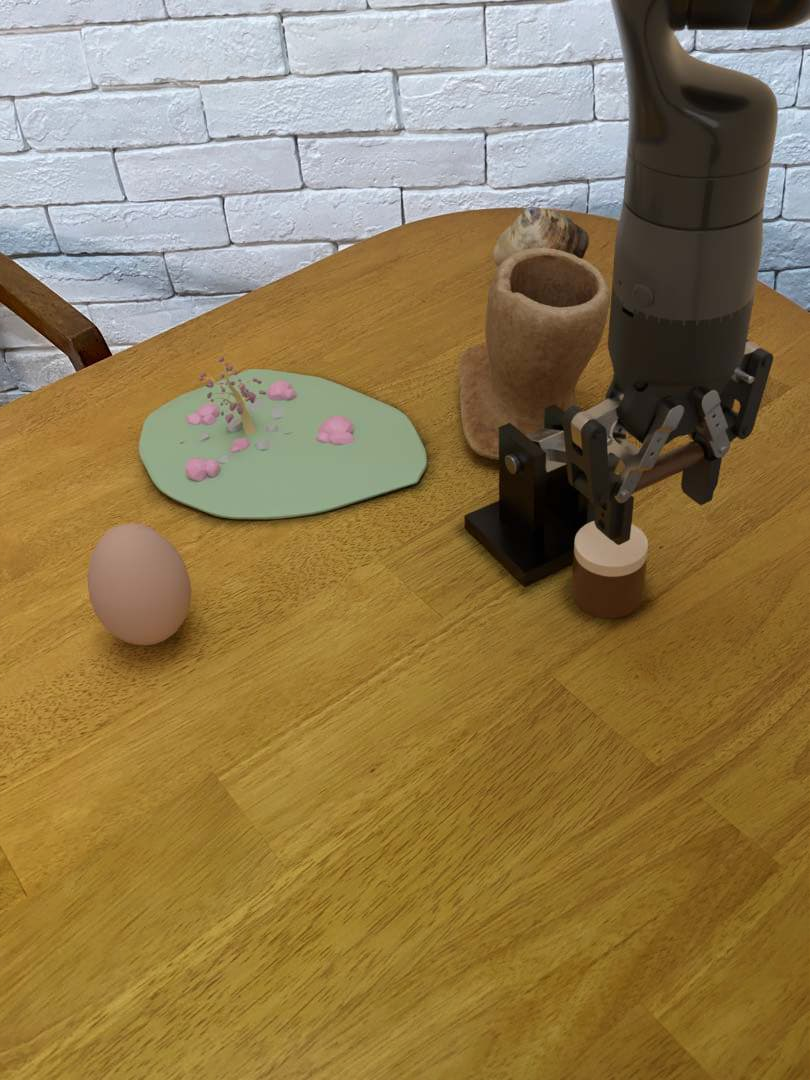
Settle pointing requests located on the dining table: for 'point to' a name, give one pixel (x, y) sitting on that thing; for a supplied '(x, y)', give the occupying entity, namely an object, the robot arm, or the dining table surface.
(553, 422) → the black angular piece
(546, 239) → the seashell
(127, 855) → the dining table surface
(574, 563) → the brown lidded jar
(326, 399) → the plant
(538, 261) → the stone cup
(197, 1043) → the dining table surface
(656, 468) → the metal lever handle
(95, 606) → the egg
